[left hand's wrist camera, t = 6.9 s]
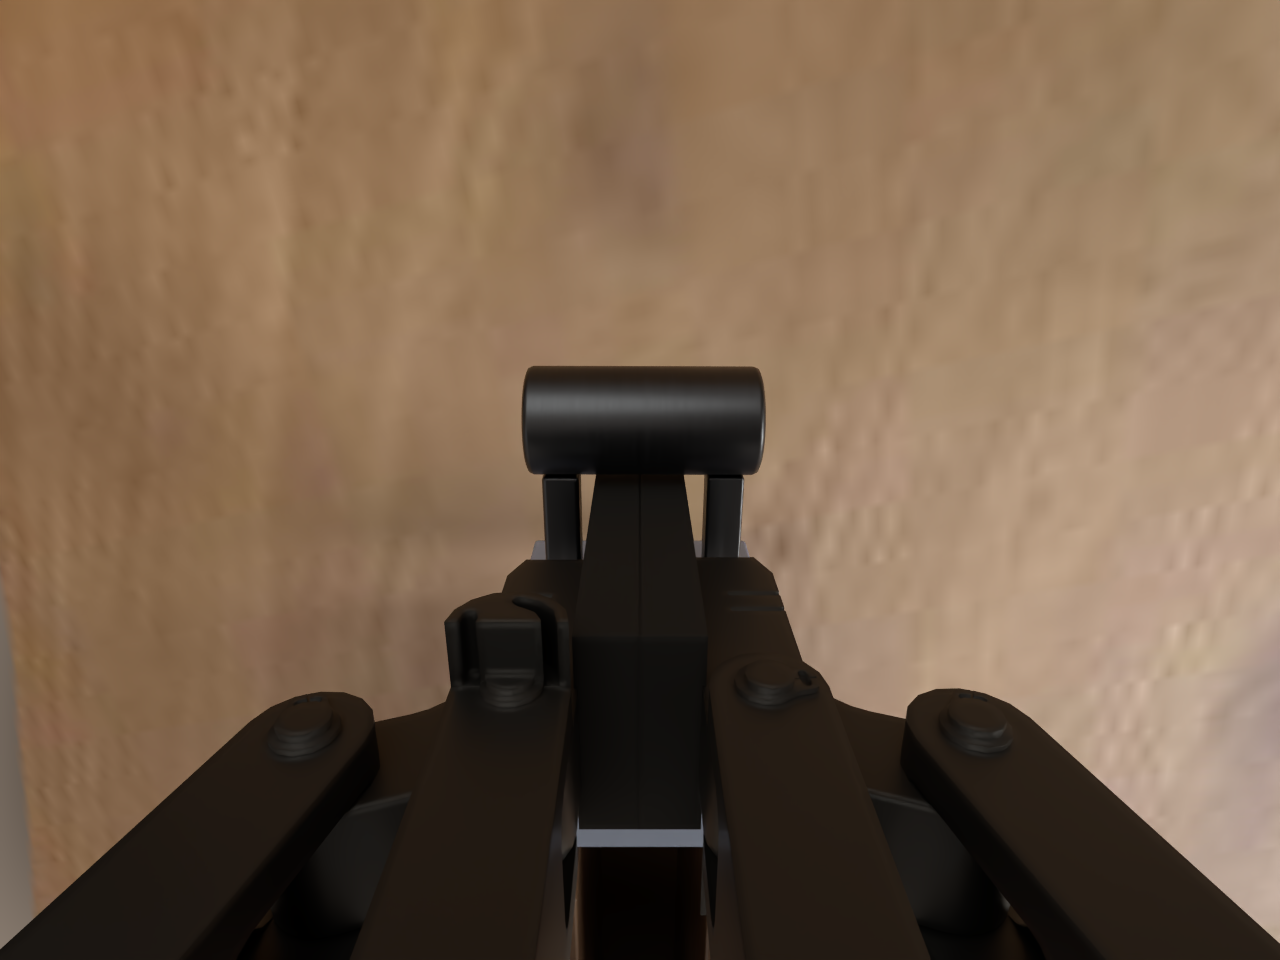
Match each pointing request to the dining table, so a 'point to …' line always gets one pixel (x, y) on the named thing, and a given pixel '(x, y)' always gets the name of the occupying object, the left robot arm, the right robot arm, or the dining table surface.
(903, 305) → the dining table surface
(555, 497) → the drawer
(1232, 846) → the dining table surface
